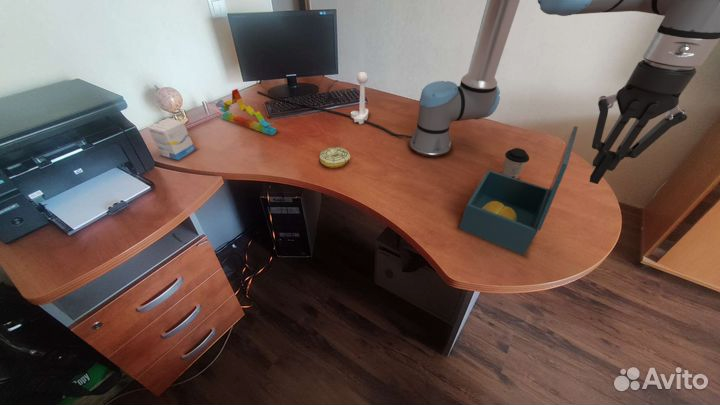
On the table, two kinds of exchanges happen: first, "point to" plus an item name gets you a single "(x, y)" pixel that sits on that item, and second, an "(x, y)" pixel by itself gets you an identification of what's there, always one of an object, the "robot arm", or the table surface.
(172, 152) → the ink box
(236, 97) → the colourful triangular block frame
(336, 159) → the decorated donut
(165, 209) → the table surface
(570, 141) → the lid
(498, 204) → the bread roll
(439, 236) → the table surface
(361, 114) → the joystick
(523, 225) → the dark teal hollow box
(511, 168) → the coffee cup
